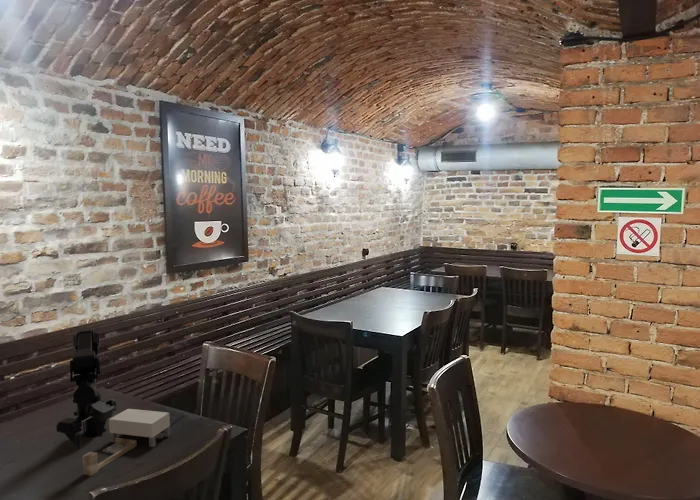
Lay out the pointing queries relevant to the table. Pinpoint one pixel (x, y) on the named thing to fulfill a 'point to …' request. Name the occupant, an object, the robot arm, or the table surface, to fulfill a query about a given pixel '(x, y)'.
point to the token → (115, 448)
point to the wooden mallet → (92, 459)
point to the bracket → (175, 420)
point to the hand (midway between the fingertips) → (89, 442)
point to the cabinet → (140, 424)
